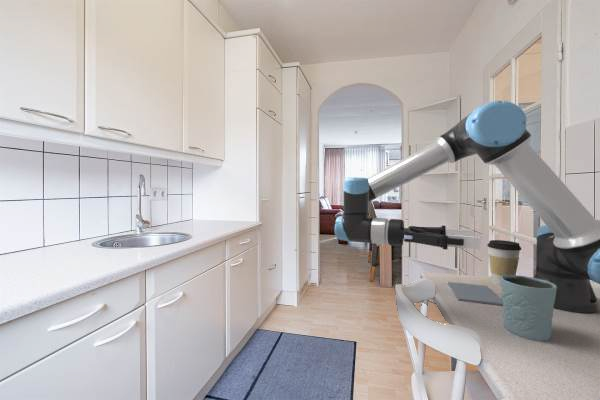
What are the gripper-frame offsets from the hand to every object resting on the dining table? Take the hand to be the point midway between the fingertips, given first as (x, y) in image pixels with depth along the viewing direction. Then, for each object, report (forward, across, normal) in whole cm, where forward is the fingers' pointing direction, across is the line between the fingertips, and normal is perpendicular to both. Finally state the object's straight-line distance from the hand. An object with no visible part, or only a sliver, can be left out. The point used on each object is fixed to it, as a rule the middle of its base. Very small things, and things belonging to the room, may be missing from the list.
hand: (476, 238), depth 68 cm
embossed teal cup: (+11, 0, -21) cm, 24 cm away
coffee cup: (+13, -39, -21) cm, 46 cm away
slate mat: (+2, -22, -21) cm, 31 cm away
